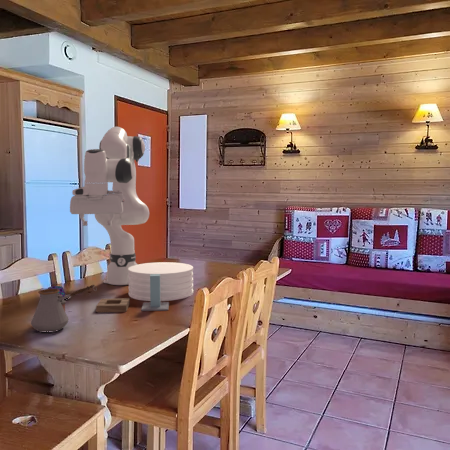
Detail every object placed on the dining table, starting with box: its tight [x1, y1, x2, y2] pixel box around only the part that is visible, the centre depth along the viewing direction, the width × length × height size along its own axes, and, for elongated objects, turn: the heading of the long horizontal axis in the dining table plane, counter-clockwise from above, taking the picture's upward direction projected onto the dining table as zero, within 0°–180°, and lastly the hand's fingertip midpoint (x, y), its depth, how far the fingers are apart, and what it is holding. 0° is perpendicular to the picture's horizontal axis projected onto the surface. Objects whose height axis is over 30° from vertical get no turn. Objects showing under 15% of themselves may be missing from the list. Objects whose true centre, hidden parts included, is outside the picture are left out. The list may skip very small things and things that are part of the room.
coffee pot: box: [30, 284, 97, 332], centre depth 149 cm, size 21×12×15 cm, turn 87°
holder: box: [95, 297, 131, 313], centre depth 176 cm, size 11×11×2 cm
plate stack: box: [128, 261, 194, 302], centre depth 200 cm, size 28×28×12 cm
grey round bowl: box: [47, 285, 72, 301], centre depth 190 cm, size 12×12×5 cm
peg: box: [149, 274, 161, 307], centre depth 177 cm, size 4×4×12 cm
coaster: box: [141, 301, 170, 312], centre depth 177 cm, size 10×10×1 cm
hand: (97, 225), depth 181 cm, fingers open, 8 cm apart
